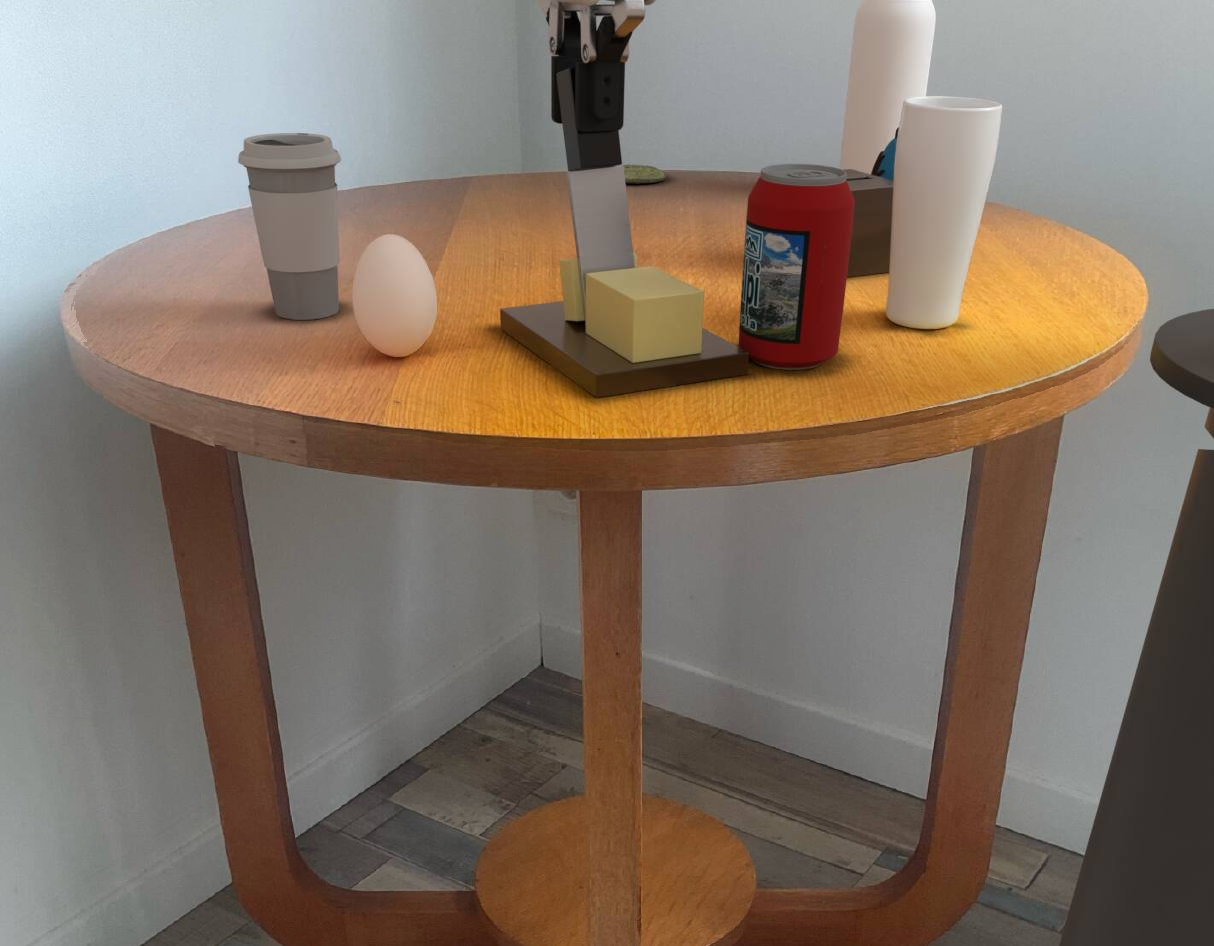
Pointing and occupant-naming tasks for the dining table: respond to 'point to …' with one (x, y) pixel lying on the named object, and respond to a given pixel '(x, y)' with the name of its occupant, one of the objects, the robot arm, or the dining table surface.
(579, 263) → the knife
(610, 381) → the board
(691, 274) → the dining table surface
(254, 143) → the cup
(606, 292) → the butter block
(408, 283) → the egg
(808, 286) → the beverage can
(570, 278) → the butter slice
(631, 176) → the medallion
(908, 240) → the drinking glass
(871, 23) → the bottle
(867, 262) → the knife block
